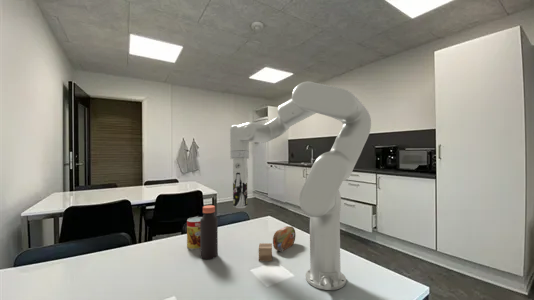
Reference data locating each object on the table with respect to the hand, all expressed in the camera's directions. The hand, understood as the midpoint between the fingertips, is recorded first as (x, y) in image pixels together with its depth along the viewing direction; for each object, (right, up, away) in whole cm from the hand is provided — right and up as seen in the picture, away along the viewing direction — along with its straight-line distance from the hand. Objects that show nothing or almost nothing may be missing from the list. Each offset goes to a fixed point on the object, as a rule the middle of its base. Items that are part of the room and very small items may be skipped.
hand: (240, 200), depth 94 cm
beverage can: (0, -3, 0) cm, 3 cm away
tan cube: (+10, -22, -2) cm, 25 cm away
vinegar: (-13, -23, +1) cm, 26 cm away
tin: (+18, -23, +9) cm, 31 cm away
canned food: (-21, -23, +12) cm, 34 cm away
